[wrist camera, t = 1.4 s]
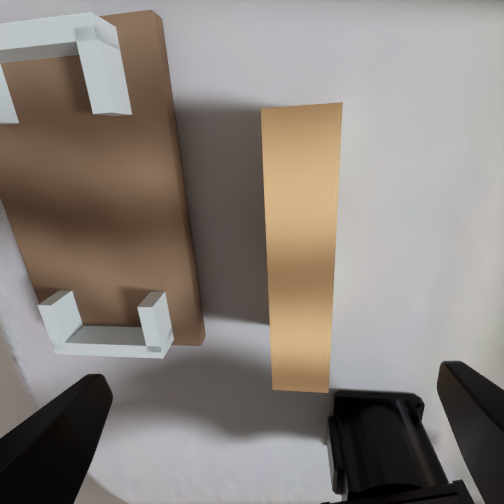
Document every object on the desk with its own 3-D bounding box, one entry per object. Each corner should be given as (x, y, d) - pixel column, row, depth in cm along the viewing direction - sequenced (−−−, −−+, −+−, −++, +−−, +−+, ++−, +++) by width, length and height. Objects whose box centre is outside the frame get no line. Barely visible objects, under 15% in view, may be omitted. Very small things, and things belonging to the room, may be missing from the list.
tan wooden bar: (270, 116, 17) (260, 108, 11) (325, 112, 16) (342, 102, 11) (277, 324, 22) (272, 389, 16) (318, 325, 21) (328, 392, 16)
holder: (-37, 42, 17) (-105, 23, 14) (161, 18, 15) (131, -9, 13) (64, 331, 24) (32, 358, 21) (205, 335, 23) (192, 365, 20)
